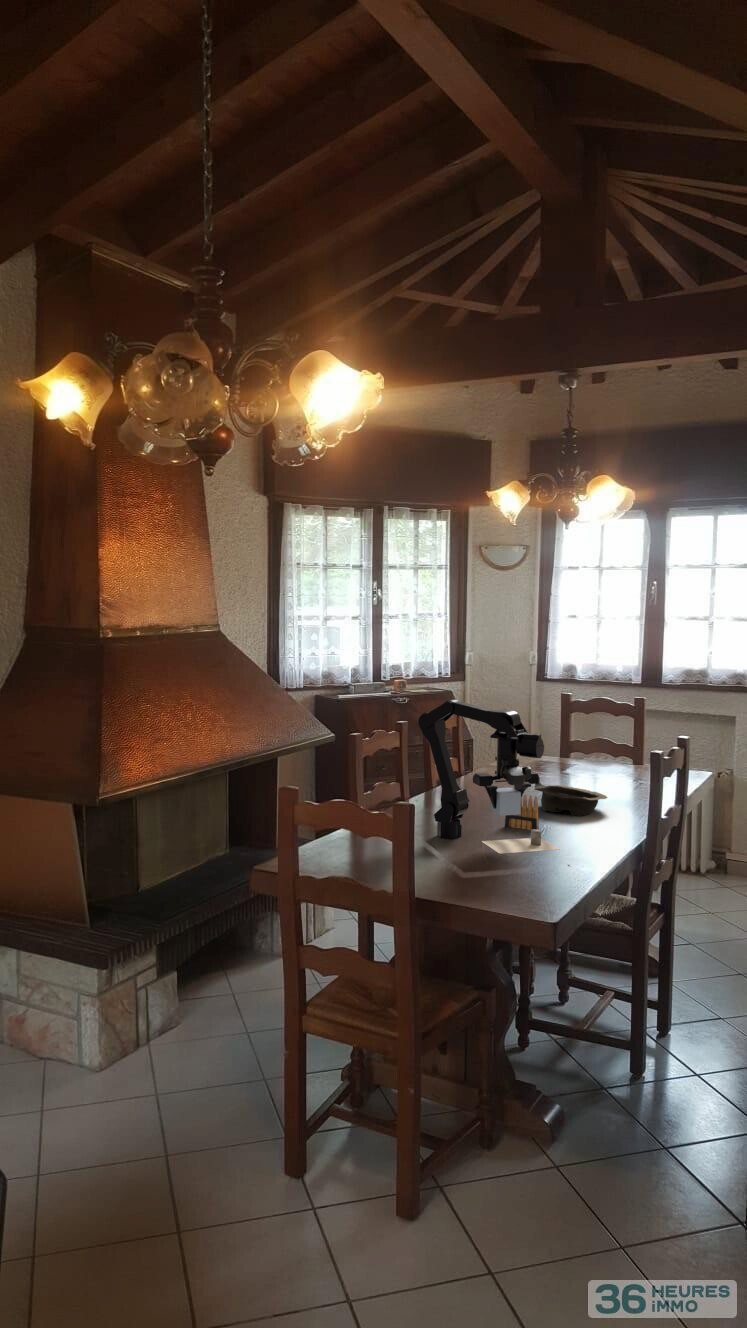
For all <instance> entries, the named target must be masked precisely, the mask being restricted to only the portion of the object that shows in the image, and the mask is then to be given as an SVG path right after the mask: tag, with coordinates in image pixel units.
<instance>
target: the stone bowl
mask: <svg viewBox="0 0 747 1328" xmlns="http://www.w3.org/2000/svg"><path fill="white" fill-rule="evenodd" d="M533 790H535V791H538V792H542V793H541V798H540V803H541V808H542V810H544V811H545V812H548V811H550V813H561V812H562V811H569V813H570V814H571V815H573V816H574V815H577V817H582V816H585V815H586V816H589V815H590V814H592V813H593V812H594V810H595V809H596V807H598V806H597V805H598V803H599V800H606V799H608V798H609V797H608V796H607V795H605V794H603V793H600V792H597V791H594V790H593V791H591V790H589V789H583V788H578V787H573V786H567V785H559V784H558V785H556V784H555V785H553V784H552V785H551V784H550V785H549V784H548V785H544V784H542V783H541V782H540V783H539V784H534V788H533Z"/></svg>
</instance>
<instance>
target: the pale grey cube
mask: <svg viewBox="0 0 747 1328" xmlns="http://www.w3.org/2000/svg"><path fill="white" fill-rule="evenodd" d="M496 801H497V804H496V809H494V808H493V805H492V803H491V802H490V811H491V812H493V813H495V815H497V816H506V815H520V808H521V792H520V791H518V790H516V789H514V787H512V786H511V787H498V788H497V791H496Z"/></svg>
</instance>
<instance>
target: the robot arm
mask: <svg viewBox="0 0 747 1328" xmlns="http://www.w3.org/2000/svg"><path fill="white" fill-rule="evenodd" d="M454 715H455V716H459V717H463V718H466V719H470V720H474V721H477V722H482V723H484V724H486V725H488V726H489V727H491V728H492V729H494V730H495V731H494V732H493V733H492V734H491V735H489V736H490V738H491V739H496V740H497V742H496V756H494V760H495V761H496V770H494V775H491V774H489V773H488V772H477V773H476V772H475V773H474V774H473V776H472V783H473V784H475V785H477V786H479V787H484V788H485V791H486V793H487V794H488V797H489V800H490V804H491V803H492V805H493V808H494V809H496V804H497V801H496V791H497V788H499V787H498V786H496V783H503V782H504V783H505V782H506V783H507V784H508V785H510V786H514V787H513V788H514V789H516V790H518V791H520V792H521V798H522V797H523V795H524V793H525V791H526V790H528V788H531V787H532V785H535V784H539V783H541V782H540V780H541V779H540V775H539V774H538V773H536V772H535V771H533V770H532V768H531V766H522V767H521V766H520V761H519V760H520V759H518V755H519V756H520V757H524V758H533V759H542V757H543V755H544V750H545V744H544V741H543V738H542V734H541V733H529V732H528V730H527V728H526V727H525V725H524V724H523V722H522V721H521V720H522V718H521V716H520V714H519V712H517V711H515V710H510V709H492V708H491V709H490V708H487V707H483V706H479V705H475V704H471V703H468V702H463V701H459V700H458V699H450V700H446V701H444V703H442V704H441V705H439V706H437V707H436V708H434V709H432V710H430V711H428V712H423V713H422V714H421V715H420V716H419V718H418V719H417V723H418V724H417V725H418V728H419V730H420V732H421V734H422V736H423V737H424V738H425V739H426V741H427V742H428V744H429V747H430V750H431V754H432V757H433V760H434V761H433V762H434V764H435V768H436V771H437V776H438V780H439V783H440V788H441V792H440V808H439V809H438V810H437V811H436V812H435V813H434V814H433V817H434V821H435V822H436V823H437V826H436V827H437V829H436V836H437V837H438V838H439V839H444V840H445V839H446V840H447V839H448V840H452V839H453V840H454V839H457V838H462V835H463V833H462V831H463V830H462V829H463V827H462V824H461V819H463V817H464V815H465V813H466V812H467V811H468V809H469V806H470V805H469V802H471V801H470V799H469V797H468V793H467V792H468V791H467V789H466V788H463V789H462V788H460V786H459V785H458V783H457V779H456V775H455V771H454V768H453V764H452V761H451V756H450V753H449V751H448V747H447V743H446V740H445V738H446V731H447V730H446V729H447V726H446V722H448V721H449V720H450V719H451V718H452V717H453V716H454Z"/></svg>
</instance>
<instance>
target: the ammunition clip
mask: <svg viewBox="0 0 747 1328" xmlns="http://www.w3.org/2000/svg"><path fill="white" fill-rule="evenodd" d="M523 795H524V796H523V799H522V798H521V808H520V815H504V816H505V817H504V828H513V829H521V830H528V831H531V830H533V829H537V830H540V829H539V828H540V827H539V806H538V802H539V801H538V797H537V795H535V797H534V800H533V797H532V795H531V794H530V795H529V797H528V800H527V794H523ZM522 800H523V801H522Z"/></svg>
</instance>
